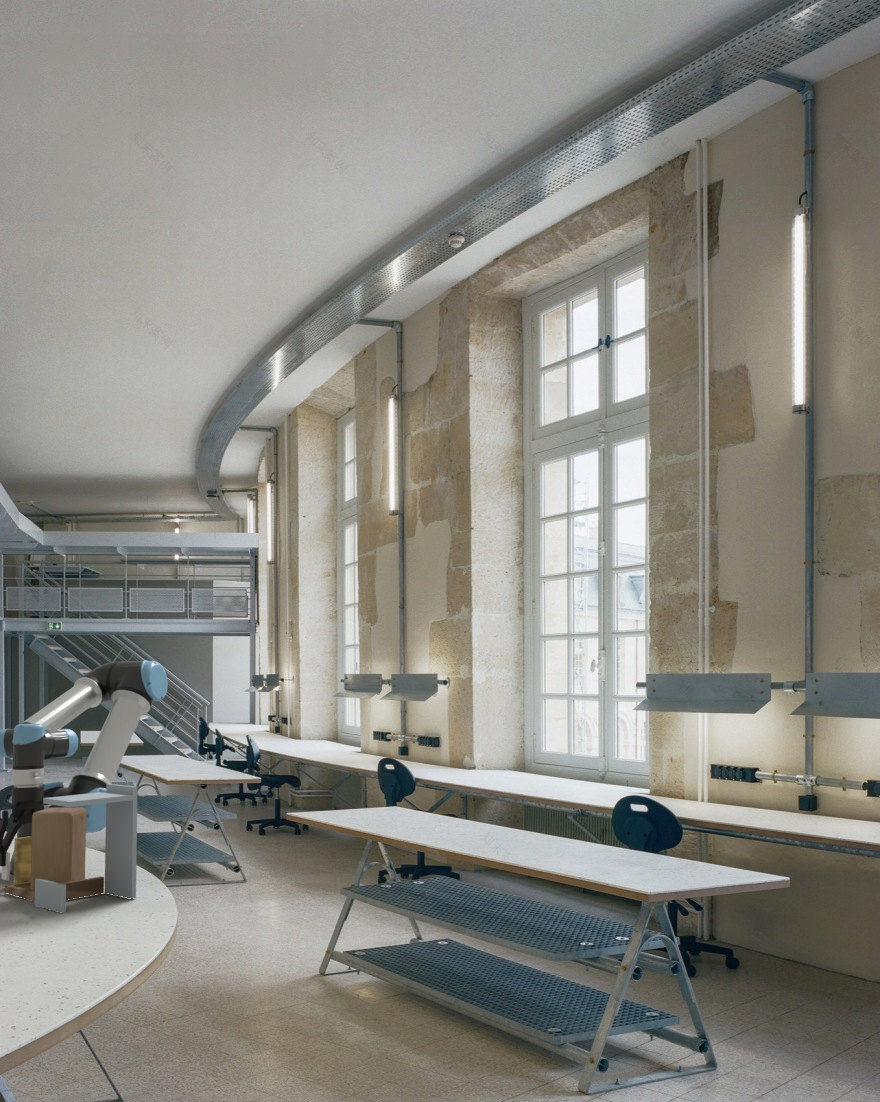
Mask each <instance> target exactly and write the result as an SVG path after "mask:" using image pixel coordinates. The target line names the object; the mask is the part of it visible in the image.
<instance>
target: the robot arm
mask: <svg viewBox="0 0 880 1102" xmlns="http://www.w3.org/2000/svg"><path fill="white" fill-rule="evenodd" d="M73 683H74V684H73V686H72V687H71V688H70V689H68V690H67V691H65V692H64V693H62V694H61V695H59V696H58V697H57V698H55V699H54V700H52V701H51V702H50V703H48V704H47V705H46V706H44V707H43V708H41V709H40V710H38V711H36V713H34V714H32V715H30V716H29V717H28V718H27V719H26V720H24V721H22V722H21V723H20V724H16V725H15V726H14V728H6V729H5V728H4V729H0V758H5V759H6V758H8V759H12V773H11V784H12V785H13V786H14V787H13V786H12V788H11V807H10V808H9V809H0V867H1V874H0V875H1V880H4V881H10V876H11V875H10V874H12V873H13V875H14V851H13V853H12V855H11V852H9V848H10V847H11V845H12V842H13V841H14V840H15V838H21V837H29V836H30V837H32V815H33V813H35V812H38V811H41V810H44V809H48V808H72V807H64V806H58V805H51V804H44V803H43V798H50V797H60V796H69V795H79V794H89V793H98V792H106V784H113V780H114V778H115V777H116V774H117V771H118V769H119V767H120V764H121V762H122V761H123V758H124V755H125V754H126V751H127V748H128V747H129V745H130V742H131V740H132V737H133V735H134V733H135V731H136V729H137V727H138V725H139V722H140V720H141V718H142V715H144V714H147V713H148V712H150V710H151V707H152V706H153V703H154V702H159V701H162V700H163V699H164V698H165V697H166V695H167V692H168V686H169V685H168V683H169V681H168V676H167V673H166V670H165V668H164V666H163V665H162V664H161V663H160V662H158V661H155V660H147V659H145V660H140V661H138V660H136V661H132V660H131V661H130V660H128V661H124V660H122V661H120V660H118V661H117V660H116V661H111V662H107V663H104V664H102V665H99V666H97V667H95V668H93V669H92V670H89V671H88V672H86V673H85V674H83V675H82V676H81V677H79V678H78V679H76V680H75V682H73ZM106 702H113V704H112V706H111V708H110V710H109V713H108V715H107V716H106V719H105V720H104V721H105V722H104V723H103V725H102V727H101V730H100V731H99V734H98V736H97V737H96V741H95V743H94V745H93V747H92V749H91V751H90V753H89V755H88V758H87V760H86V762H85V764H84V766H83V769H82V770H81V773H77V774H75V775H73V777H72V778H71V780H70V782H69V785H68V787H65V785H64V783H63V782H62V781H55V782H48V783H44V782H45V781H44V780H45V779H44V777H45V776H44V775H45V760H55V759H65V758H68V757H71V756H73V755H74V754H75V753H76V751H77V750H78V748H79V738H78V735H77V733H76V732H75V731H73V730H72V729H70V728H64V727H65V726H66V725H67V724H69V723H71V721H73V720H74V719H76V718H77V717H79V715H81V714H82V713H84V712H85V711H86V710H88V709H90V708H91V709H92V708H93V709H94V708H96V707H98V706H100V705H101V704H103V703H106ZM76 807H83V808H85V809H86V834H87V833H88V834H89V833H90V834H91V833H98V832H100V831H103V830H104V829H106V803H103V804H94V805H85V806H76ZM11 816H12V820H11V821H10V825H9V827H8V824H9V823H8V822H9V819H10V817H11ZM7 827H8V829H7ZM6 830H7V832H6Z"/></svg>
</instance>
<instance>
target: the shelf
mask: <svg viewBox="0 0 880 1102" xmlns="http://www.w3.org/2000/svg"><path fill="white" fill-rule="evenodd" d="M43 803H44V804H51V805H58V806H64V807H76V806H85V805H94V804H103V803H106V827H105V846H104V847H105V848H104V849H105V850H104V851H105V853H104V857H105V858H104V894H105V893H109V894H113V895H118V896H123V897H127V898H131V899H133V898H136V899H137V859H138V857H137V856H138V854H137V853H138V852H137V851H138V850H137V848H138V847H137V846H138V845H137V843H138V786H133V785H124V784H115V783H111V784H106V792H98V793H89V794H79V795H69V796H60V797H50V798H43ZM109 894H108V895H109ZM113 895H112V896H113ZM66 905H67V901H66V885H65V884H60V883H56V882H52V881H48V880H44V879H35V902H34V907H36V906H38V907H37V908H40V907H42V908H41V909H44V908H46V909H45V910H47V909H50V910H49V911H51V910H53V911H52V912H54V911H58V912H65V911H66V909H67V908H66V907H67V906H66ZM58 912H57V913H58ZM66 912H67V911H66ZM66 912H65V913H66Z"/></svg>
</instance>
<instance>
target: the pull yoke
mask: <svg viewBox="0 0 880 1102" xmlns="http://www.w3.org/2000/svg"><path fill="white" fill-rule="evenodd" d="M13 844H14V850H13V852H14V874H13V883H12V884H6V885H4V894H5V893H9V894H12V895H15V896H19V897H22V898H25V899H24V900H26V899H29V900H28V901H30V900H32V901H31V902H34V901H35V891H32V890H30V887H31V844H32V837H30V836H29V837H21V838H17V837H14V843H13ZM60 884H65V885H66V900H68V899H73V898H79V897H84V896H90V895H95V894H101V893H104V894H105V876H96V877H88V878H85V879H82V880H76V881H70V882H64V883H60ZM22 898H21V899H22Z"/></svg>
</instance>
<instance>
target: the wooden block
mask: <svg viewBox="0 0 880 1102" xmlns="http://www.w3.org/2000/svg"><path fill="white" fill-rule="evenodd" d="M86 841H87V833H86V809H85V808H83V807H72V808H48V809H44V810H41V811H38V812H35V813H33V815H32V844H31V887H30V890H32V891H35V879H44V880H48V881H52V882H56V883H64V882H70V881H76V880H82V879H86V850H87V849H86V845H87V842H86Z"/></svg>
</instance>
